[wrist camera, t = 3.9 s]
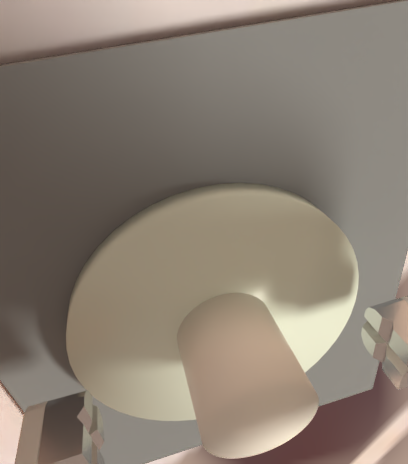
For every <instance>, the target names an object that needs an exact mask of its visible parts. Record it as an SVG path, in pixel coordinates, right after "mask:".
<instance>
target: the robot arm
mask: <svg viewBox="0 0 408 464" xmlns="http://www.w3.org/2000/svg"><path fill="white" fill-rule="evenodd" d="M364 317H365V318H366V319H367V322H366V323H365V324H364V325H363V326H362V332H361V336H362V340H363V343H364V345H365V347H366V349H367V351H368V352H369V353H370V355H371V356H372V357H373V358H375V359H377V360H379V361H381V362H382V367H383V369H382V370H383V371H384V373H385V374H386V375H387V376H388V378H389V379H390V380H391V382H392V383H393V384H394V385H395V387H396V388H397V389H398V390H400V389H403V388H407V387H408V296H405V297H402V298H399V299H394V300H390V301H387V302H384V303H381V304H378V305H374V306H371V307H368V308H367V309H366V310H365V315H364ZM103 443H104V427H103V421H102V416H101V413H100V410H99V408H98V406H95V405H93V404H92V395H91V394H90V392H89V390H86V391H83V392H79V393H75V394H72V395H68V396H65V397H61V398H57V399H54V400H50V401H46V402H42V403H39V404H36V405H32V406H29V407H27V409H26V411H25V413H24V416H23V422H22V427H21V432H20V438H19V443H18V449H17V454H16V459H15V464H105V461H104V458H103V456H102V454H101V453H100V451H99V450H100V449H101V447H102V445H103Z"/></svg>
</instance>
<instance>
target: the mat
mask: <svg viewBox="0 0 408 464" xmlns="http://www.w3.org/2000/svg"><path fill="white" fill-rule="evenodd" d="M228 183H251V184H262V185H267V186H272V187H277V188H280V189H283V190H286V191H289V192H291V193H294V194H297V195H298V196H300V197H302V198H304V199H305V200H307V201H309V202H311V203H312V204H313V205H314V206H316V207H317V208H318V209H319V210H320V211H322V212H323V213H324V214H325V215H326V216H327V217H328V218H330V219H331V220H332V221H333V222H334V223H335V224H336V225H337V226H338V227H339V228H340V229H341V230H342V232H343V233H344V234H345V235H346V237H347V238H348V240H349V242H350V244H351V246H352V248H353V250H354V253H355V256H356V259H357V264H358V272H359V281H358V291H357V296H356V301H355V304H354V307H353V310H352V313H351V315H350V317H349V319H348V321H347V323H346V325H345V327H344V329H343V330H342V332H341V333H340V335H339V337H338V338H337V340H336V341H335V342H334V343H333V345H332V346H331V347H330V348H329V350H328V351H327V352H326V353H325V354H324V355H323V356H322V357H321V358H320V359H319V361H318V362H317V363H315V364H314V365H313V366H312V367H311V368H310V369H309V370H308V371H306V372H305V374H306V376H307V377H308V379H309V381H310V383H311V384H312V386H313V388H314V389H315V391H316V393H317V395H318V398H319V405H318V406H321V405H324V404H327V403H330V402H334V401H337V400H339V399H343V398H346V397H348V396H351V395H355V394H357V393H361V392H364V391H367V390H370V389H372V388H373V384H374V380H375V376H376V373H377V368H378V364H379V360H377V359H375V358H373V357H372V356H371V355H370V353H369V352H368V351H367V349H366V347H365V345H364V343H363V340H362V336H361V332H362V326H363V325H364V324H365V323H366V322H367V319H366V318H365V317H364V315H365V310H366V309H367V308H368V307H371V306H374V305H378V304H381V303H384V302H387V301H390V300H394V299H395V298H396V294H397V290H398V286H399V282H400V278H401V275H402V271H403V267H404V263H405V259H406V255H407V251H408V0H398V1H392V2H386V3H380V4H373V5H367V6H361V7H355V8H349V9H342V10H336V11H330V12H324V13H318V14H312V15H305V16H299V17H293V18H287V19H281V20H274V21H268V22H262V23H256V24H250V25H243V26H237V27H231V28H225V29H219V30H213V31H206V32H200V33H194V34H188V35H182V36H175V37H169V38H163V39H157V40H151V41H144V42H138V43H132V44H126V45H120V46H113V47H107V48H101V49H95V50H89V51H83V52H76V53H70V54H64V55H58V56H52V57H45V58H39V59H33V60H27V61H21V62H14V63H8V64H2V65H0V381H1V382H2V383H3V385H4V386H5V387H6V389H7V390H8V391H9V393H10V394H11V395H12V397H13V398H14V399H15V401H16V402H17V403H18V405H19V406H20V407H21V409H22V410H23V411H24V413H25V411H26V409H27V407H29V406H32V405H36V404H39V403H42V402H46V401H50V400H54V399H57V398H61V397H65V396H68V395H72V394H75V393H79V392H83V391H86V389H85V388H84V387H83V386H82V384H81V383H80V382H79V380H78V379H77V378H76V376H75V374H74V372H73V370H72V367H71V365H70V362H69V358H68V354H67V350H66V328H67V317H68V309H69V303H70V297H71V294H72V291H73V288H74V285H75V282H76V280H77V278H78V276H79V274H80V272H81V270H82V269H83V267H84V265H85V263H86V262H87V260H88V259H89V258H90V256H91V255H92V254H93V252H94V251H95V250H96V248H97V247H98V246H99V245H100V244H101V243H102V242H103V241H104V240H105V239H106V238H107V237H108V236H109V235H110V234H111V233H112V232H113V231H114V230H115V229H117V228H118V227H119V226H120V225H122V224H123V223H124V222H126V221H127V220H128V219H129V218H131V217H132V216H134V215H136V214H137V213H139V212H141V211H142V210H144V209H146V208H147V207H149V206H151V205H153V204H155V203H157V202H159V201H161V200H164V199H166V198H168V197H170V196H173V195H176V194H179V193H182V192H185V191H188V190H192V189H195V188H200V187H205V186H211V185H216V184H228ZM92 404H93V405H95V406H98V408H99V410H100V413H101V416H102V421H103V427H104V443H103V445H102V447H101V449H100V450H99V451H100V453H101V454H102V456H103V458H104V461H105V464H145V463H148V462H151V461H154V460H157V459H161V458H164V457H167V456H170V455H173V454H176V453H179V452H182V451H185V450H188V449H191V448H194V447H197V446H200V445H203V444H202V441H201V437H200V433H199V428H198V424H197V420H185V421H159V420H150V419H144V418H139V417H134V416H130V415H127V414H124V413H121V412H119V411H116V410H114V409H112V408H110V407H108V406H106V405H105V404H103V403H102V402H100V401H99V400H97V399H96V398H94V397H93V396H92Z"/></svg>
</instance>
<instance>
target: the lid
mask: <svg viewBox="0 0 408 464" xmlns="http://www.w3.org/2000/svg"><path fill="white" fill-rule="evenodd" d="M358 281H359V272H358V264H357V259H356V256H355V253H354V250H353V248H352V246H351V244H350V242H349V240H348V238H347V237H346V235H345V234H344V233H343V232H342V230H341V229H340V228H339V227H338V226H337V225H336V224H335V223H334V222H333V221H332V220H331V219H330V218H328V217H327V216H326V215H325V214H324V213H323V212H322V211H320V210H319V209H318V208H317V207H316V206H314V205H313V204H312V203H311V202H309V201H307V200H305V199H304V198H302V197H300V196H298V195H297V194H294V193H291V192H289V191H286V190H283V189H280V188H277V187H272V186H267V185H262V184H251V183H228V184H216V185H211V186H205V187H200V188H195V189H192V190H188V191H185V192H182V193H179V194H176V195H173V196H170V197H168V198H166V199H164V200H161V201H159V202H157V203H155V204H153V205H151V206H149V207H147V208H146V209H144V210H142V211H141V212H139V213H137V214H136V215H134V216H132V217H131V218H129V219H128V220H127V221H126V222H124V223H123V224H122V225H120V226H119V227H118V228H117V229H115V230H114V231H113V232H112V233H111V234H110V235H109V236H108V237H107V238H106V239H105V240H104V241H103V242H102V243H101V244H100V245H99V246H98V247H97V248H96V250H95V251H94V252H93V254H92V255H91V256H90V258H89V259H88V260H87V262H86V263H85V265H84V267H83V269H82V270H81V272H80V274H79V276H78V278H77V280H76V282H75V285H74V288H73V291H72V294H71V297H70V303H69V309H68V317H67V328H66V350H67V354H68V358H69V362H70V365H71V367H72V370H73V372H74V374H75V376H76V378H77V379H78V380H79V382H80V383H81V384H82V386H83V387H84V388H85V389H86V390H89V392H90V394H91V395H92V396H93V397H94V398H96V399H97V400H99V401H100V402H102V403H103V404H105V405H106V406H108V407H110V408H112V409H114V410H116V411H119V412H121V413H124V414H127V415H130V416H134V417H139V418H144V419H150V420H159V421H185V420H197V424H198V428H199V433H200V437H201V441H202V444H203V446H204V448H205V449H206V451H208V452H209V453H210V454H212V455H214V456H217V457H223V458H242V457H249V456H253V455H257V454H260V453H263V452H266V451H269V450H271V449H273V448H275V447H277V446H279V445H281V444H283V443H285V442H287V441H288V440H290V439H291V438H293V437H294V436H295V435H297V434H298V433H299V432H300V431H302V430H303V429H304V428H305V427H306V426H307V425H308V424H309V422H310V421H311V420H312V418H313V417H314V415H315V413H316V411H317V409H318V405H319V398H318V395H317V393H316V391H315V389H314V388H313V386H312V384H311V383H310V381H309V379H308V377H307V376H306V374H305V372H306V371H308V370H309V369H310V368H311V367H312V366H313V365H314V364H315V363H317V362H318V361H319V359H320V358H321V357H322V356H323V355H324V354H325V353H326V352H327V351H328V350H329V348H330V347H331V346H332V345H333V343H334V342H335V341H336V340H337V338H338V337H339V335H340V333H341V332H342V330H343V329H344V327H345V325H346V323H347V321H348V319H349V317H350V315H351V313H352V310H353V307H354V304H355V301H356V296H357V291H358Z"/></svg>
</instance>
